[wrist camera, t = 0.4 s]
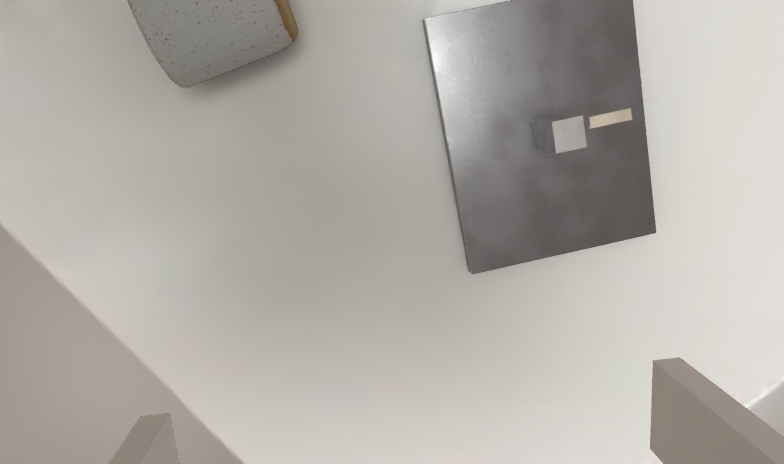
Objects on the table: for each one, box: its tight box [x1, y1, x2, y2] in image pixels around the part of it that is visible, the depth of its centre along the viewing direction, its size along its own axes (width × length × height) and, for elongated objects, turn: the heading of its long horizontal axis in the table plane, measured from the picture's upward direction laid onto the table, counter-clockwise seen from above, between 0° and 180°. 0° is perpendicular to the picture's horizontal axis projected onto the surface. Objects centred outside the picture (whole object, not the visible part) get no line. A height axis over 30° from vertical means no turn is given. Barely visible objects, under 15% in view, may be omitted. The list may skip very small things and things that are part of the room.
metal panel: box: [423, 0, 656, 274], centre depth 37 cm, size 18×14×5 cm
